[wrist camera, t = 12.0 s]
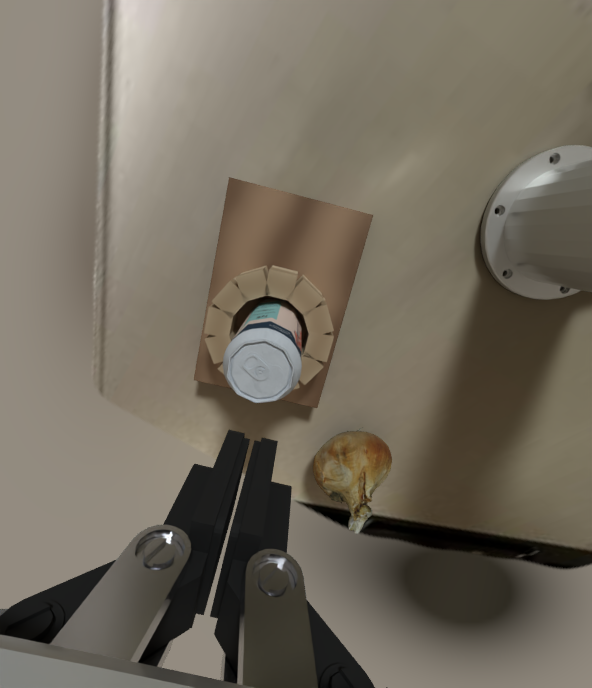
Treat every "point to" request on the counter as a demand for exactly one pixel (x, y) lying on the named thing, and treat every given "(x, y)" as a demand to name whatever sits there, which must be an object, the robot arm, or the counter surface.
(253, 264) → the board
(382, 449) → the onion
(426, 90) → the counter surface
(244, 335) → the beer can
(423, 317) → the counter surface
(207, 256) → the counter surface
